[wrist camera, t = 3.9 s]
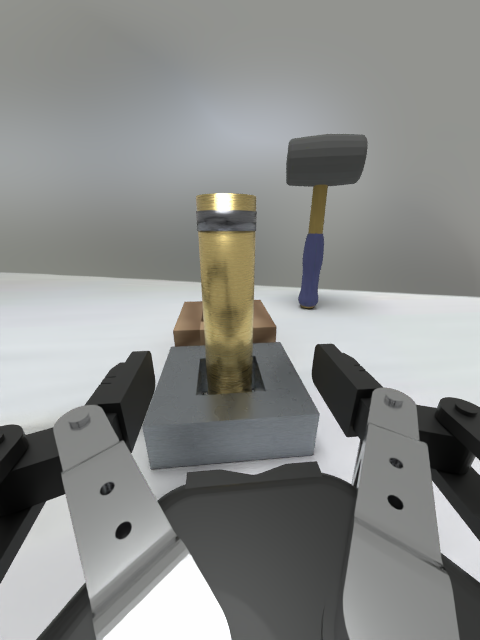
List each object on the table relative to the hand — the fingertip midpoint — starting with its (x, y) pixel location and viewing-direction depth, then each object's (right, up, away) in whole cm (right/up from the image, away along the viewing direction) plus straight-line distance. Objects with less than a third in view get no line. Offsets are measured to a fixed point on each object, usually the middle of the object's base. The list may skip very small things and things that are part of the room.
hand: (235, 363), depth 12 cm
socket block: (-1, -6, +11) cm, 13 cm away
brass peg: (-1, -6, +11) cm, 13 cm away
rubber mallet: (+14, +5, +39) cm, 42 cm away
